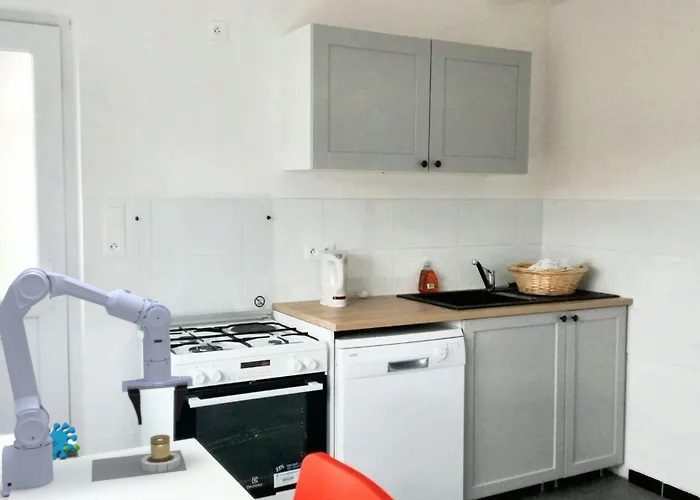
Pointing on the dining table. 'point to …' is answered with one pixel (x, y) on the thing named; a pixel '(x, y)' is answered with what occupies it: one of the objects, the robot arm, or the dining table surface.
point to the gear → (63, 441)
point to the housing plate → (135, 466)
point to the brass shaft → (160, 448)
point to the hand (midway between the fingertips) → (158, 421)
